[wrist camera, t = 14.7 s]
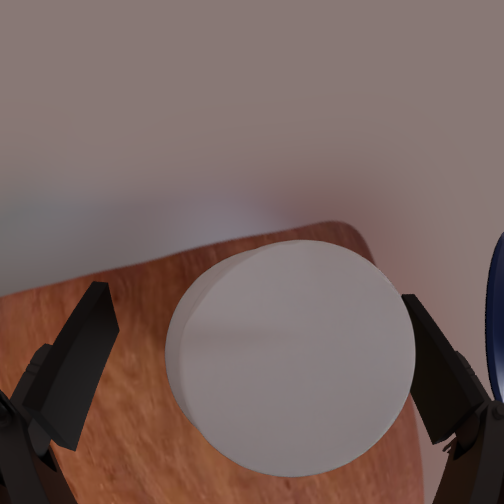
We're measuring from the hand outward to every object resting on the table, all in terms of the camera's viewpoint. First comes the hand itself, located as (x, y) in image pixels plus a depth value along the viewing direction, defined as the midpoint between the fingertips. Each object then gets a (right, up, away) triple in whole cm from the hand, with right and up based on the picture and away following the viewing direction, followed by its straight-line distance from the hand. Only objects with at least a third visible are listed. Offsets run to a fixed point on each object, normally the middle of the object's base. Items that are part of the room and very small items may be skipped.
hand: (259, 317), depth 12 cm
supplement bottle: (0, -3, +5) cm, 6 cm away
